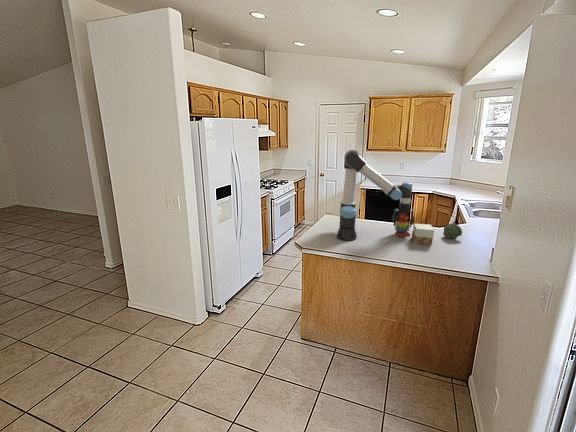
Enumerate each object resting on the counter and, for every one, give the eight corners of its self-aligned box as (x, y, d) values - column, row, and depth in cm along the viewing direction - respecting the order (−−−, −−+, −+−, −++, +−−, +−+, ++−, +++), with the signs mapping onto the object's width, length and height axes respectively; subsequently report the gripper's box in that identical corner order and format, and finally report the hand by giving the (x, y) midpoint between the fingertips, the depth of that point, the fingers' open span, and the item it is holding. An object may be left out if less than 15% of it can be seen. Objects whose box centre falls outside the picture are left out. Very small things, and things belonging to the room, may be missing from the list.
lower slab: (413, 244, 228) (414, 236, 226) (411, 238, 239) (412, 230, 238) (431, 245, 226) (432, 237, 224) (428, 239, 237) (429, 232, 235)
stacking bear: (400, 237, 240) (403, 215, 234) (391, 233, 249) (393, 211, 243) (411, 235, 244) (414, 213, 238) (402, 231, 253) (404, 210, 247)
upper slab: (415, 236, 226) (416, 228, 224) (412, 230, 237) (413, 223, 236) (433, 237, 224) (434, 230, 222) (429, 232, 235) (430, 224, 233)
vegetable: (467, 235, 238) (462, 231, 227) (452, 244, 244) (447, 241, 233) (457, 222, 245) (452, 218, 234) (443, 231, 250) (437, 228, 240)
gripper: (390, 203, 237) (387, 230, 244) (421, 204, 233) (417, 232, 239) (389, 200, 244) (386, 227, 251) (419, 202, 239) (415, 229, 246)
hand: (401, 230), depth 245 cm, fingers closed on stacking bear, 9 cm apart
